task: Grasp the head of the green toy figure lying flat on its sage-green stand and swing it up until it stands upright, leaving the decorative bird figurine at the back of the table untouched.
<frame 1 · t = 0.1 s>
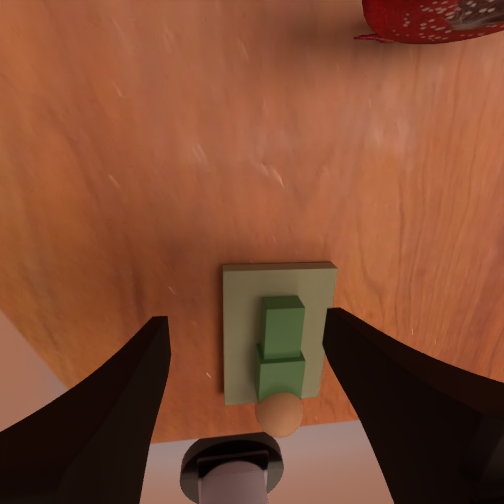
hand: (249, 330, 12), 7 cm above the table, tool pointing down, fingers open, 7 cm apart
decorative bird figurine: (426, 36, 15), on the table
toy stand: (273, 332, 21), on the table
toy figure: (281, 373, 18), point 3 cm above the table, hinge at 0.0°
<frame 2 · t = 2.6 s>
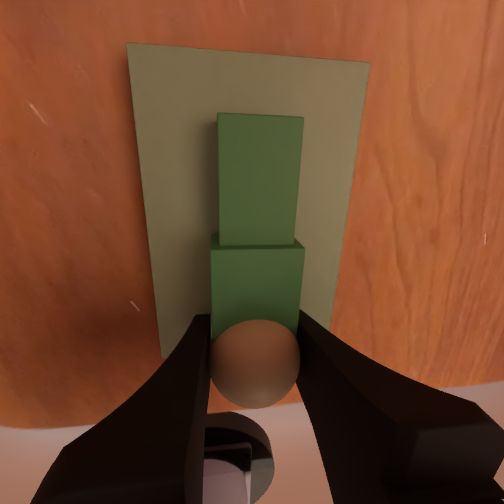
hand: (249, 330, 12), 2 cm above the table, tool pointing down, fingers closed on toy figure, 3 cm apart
toy stand: (247, 224, 12), on the table
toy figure: (257, 278, 9), point 3 cm above the table, hinge at 0.0°, touching gripper
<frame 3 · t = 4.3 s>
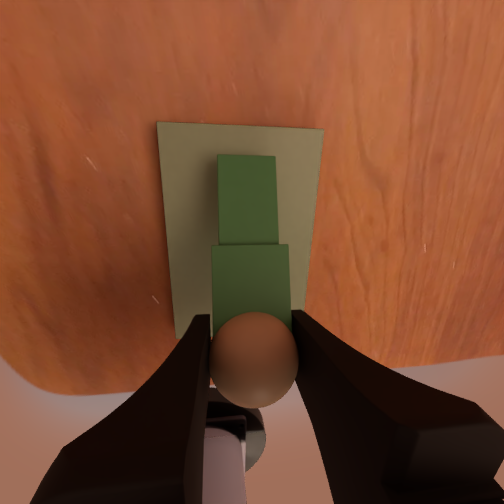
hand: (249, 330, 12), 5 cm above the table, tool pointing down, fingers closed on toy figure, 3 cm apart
toy stand: (240, 238, 15), on the table
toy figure: (250, 272, 11), point 5 cm above the table, hinge at 25.1°, touching gripper
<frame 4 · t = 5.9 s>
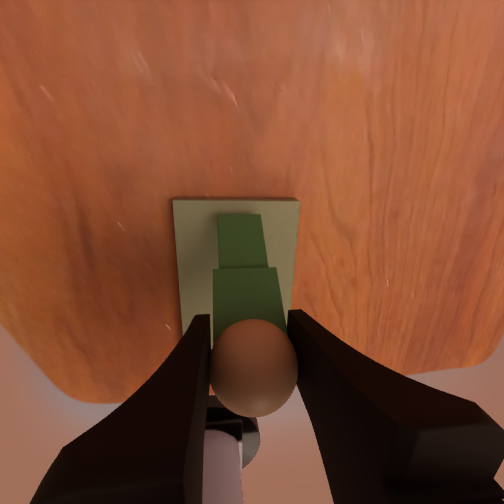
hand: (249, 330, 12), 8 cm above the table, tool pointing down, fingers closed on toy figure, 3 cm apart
toy stand: (236, 279, 19), on the table
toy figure: (246, 290, 12), point 6 cm above the table, hinge at 55.2°, touching gripper
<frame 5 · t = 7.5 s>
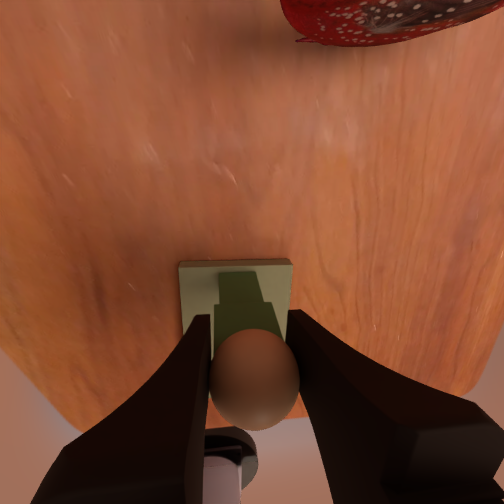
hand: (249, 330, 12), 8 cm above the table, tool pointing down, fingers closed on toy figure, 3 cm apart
decorative bird figurine: (370, 39, 16), on the table
toy stand: (235, 328, 21), on the table
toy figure: (245, 319, 13), point 7 cm above the table, hinge at 83.9°, touching gripper
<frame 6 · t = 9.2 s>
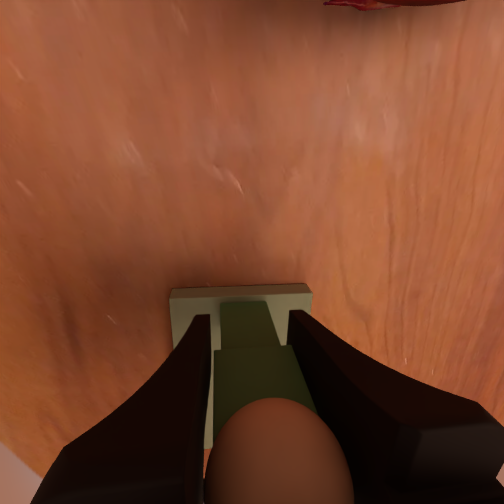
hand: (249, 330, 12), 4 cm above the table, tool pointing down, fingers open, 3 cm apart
decorative bird figurine: (419, 4, 12), on the table
toy stand: (240, 365, 17), on the table
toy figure: (257, 373, 10), point 6 cm above the table, hinge at 88.3°
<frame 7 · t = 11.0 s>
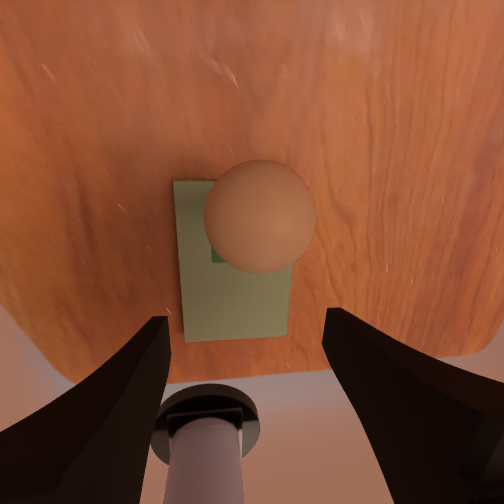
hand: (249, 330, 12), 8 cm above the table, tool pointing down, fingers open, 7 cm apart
toy stand: (236, 262, 19), on the table
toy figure: (248, 199, 12), point 6 cm above the table, hinge at 88.3°
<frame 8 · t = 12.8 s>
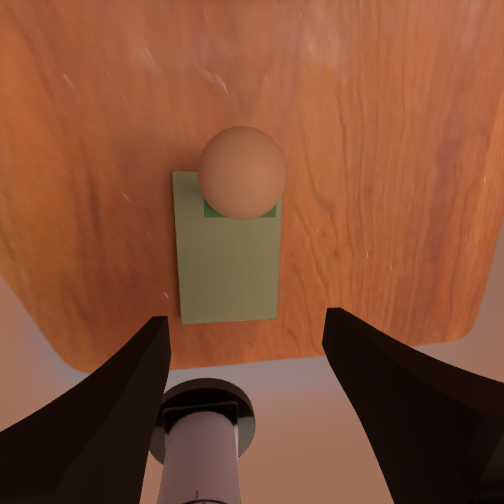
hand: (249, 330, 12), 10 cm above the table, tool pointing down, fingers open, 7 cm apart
toy stand: (229, 248, 21), on the table
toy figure: (235, 174, 14), point 6 cm above the table, hinge at 88.3°
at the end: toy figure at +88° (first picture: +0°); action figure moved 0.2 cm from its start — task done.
